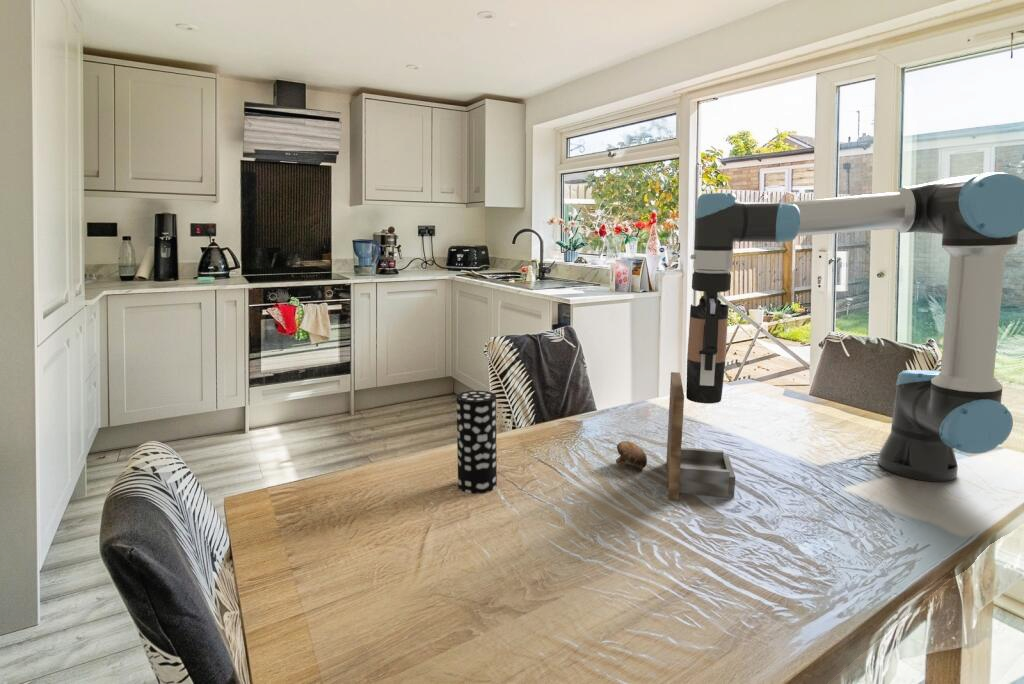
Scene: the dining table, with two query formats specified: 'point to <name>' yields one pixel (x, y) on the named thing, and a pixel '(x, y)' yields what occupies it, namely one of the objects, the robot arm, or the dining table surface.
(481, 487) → the white-spotted black cylinder
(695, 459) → the l-shaped stand
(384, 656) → the dining table surface
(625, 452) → the mushroom
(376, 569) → the dining table surface
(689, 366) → the travel mug
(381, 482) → the dining table surface
